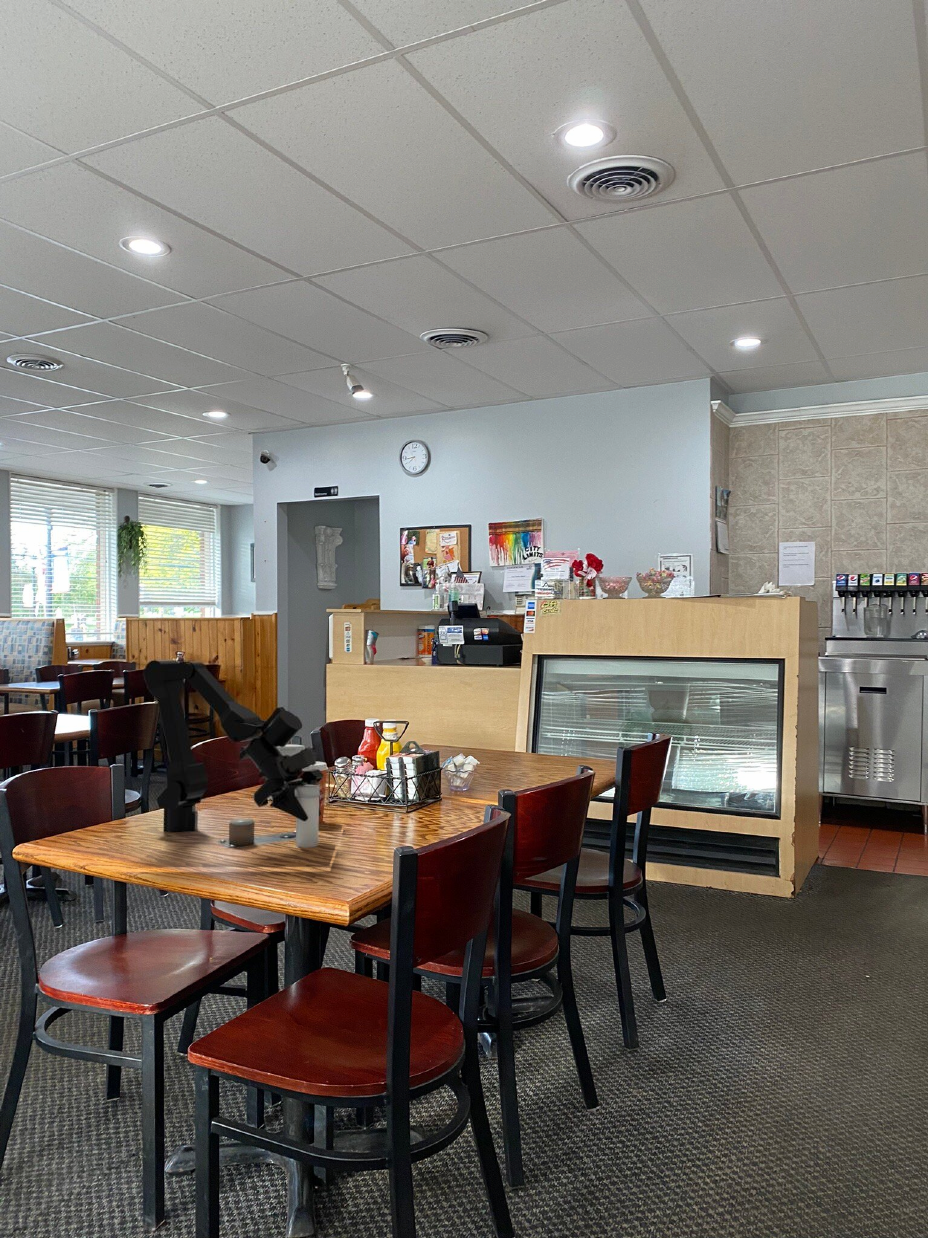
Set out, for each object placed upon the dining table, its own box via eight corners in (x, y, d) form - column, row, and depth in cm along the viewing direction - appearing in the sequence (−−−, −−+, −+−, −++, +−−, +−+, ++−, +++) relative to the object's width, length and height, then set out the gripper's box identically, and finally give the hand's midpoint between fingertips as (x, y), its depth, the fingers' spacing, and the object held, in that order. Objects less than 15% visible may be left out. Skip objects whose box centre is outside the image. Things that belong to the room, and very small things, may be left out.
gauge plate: (228, 852, 183) (229, 847, 183) (215, 845, 189) (215, 839, 189) (313, 841, 194) (313, 836, 194) (298, 834, 200) (298, 829, 200)
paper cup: (320, 825, 210) (321, 766, 210) (289, 824, 211) (290, 764, 212) (332, 819, 218) (333, 761, 218) (302, 817, 219) (303, 760, 219)
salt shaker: (294, 851, 184) (295, 788, 185) (297, 846, 189) (298, 784, 189) (317, 851, 185) (318, 788, 185) (319, 846, 189) (320, 784, 190)
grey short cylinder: (226, 845, 186) (226, 823, 186) (231, 839, 191) (231, 818, 191) (251, 845, 186) (252, 823, 186) (256, 839, 191) (256, 818, 191)
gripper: (266, 740, 180) (312, 800, 176) (317, 732, 197) (359, 786, 193) (234, 776, 183) (278, 836, 179) (286, 765, 200) (327, 819, 196)
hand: (313, 817), depth 186 cm, fingers closed on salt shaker, 5 cm apart
